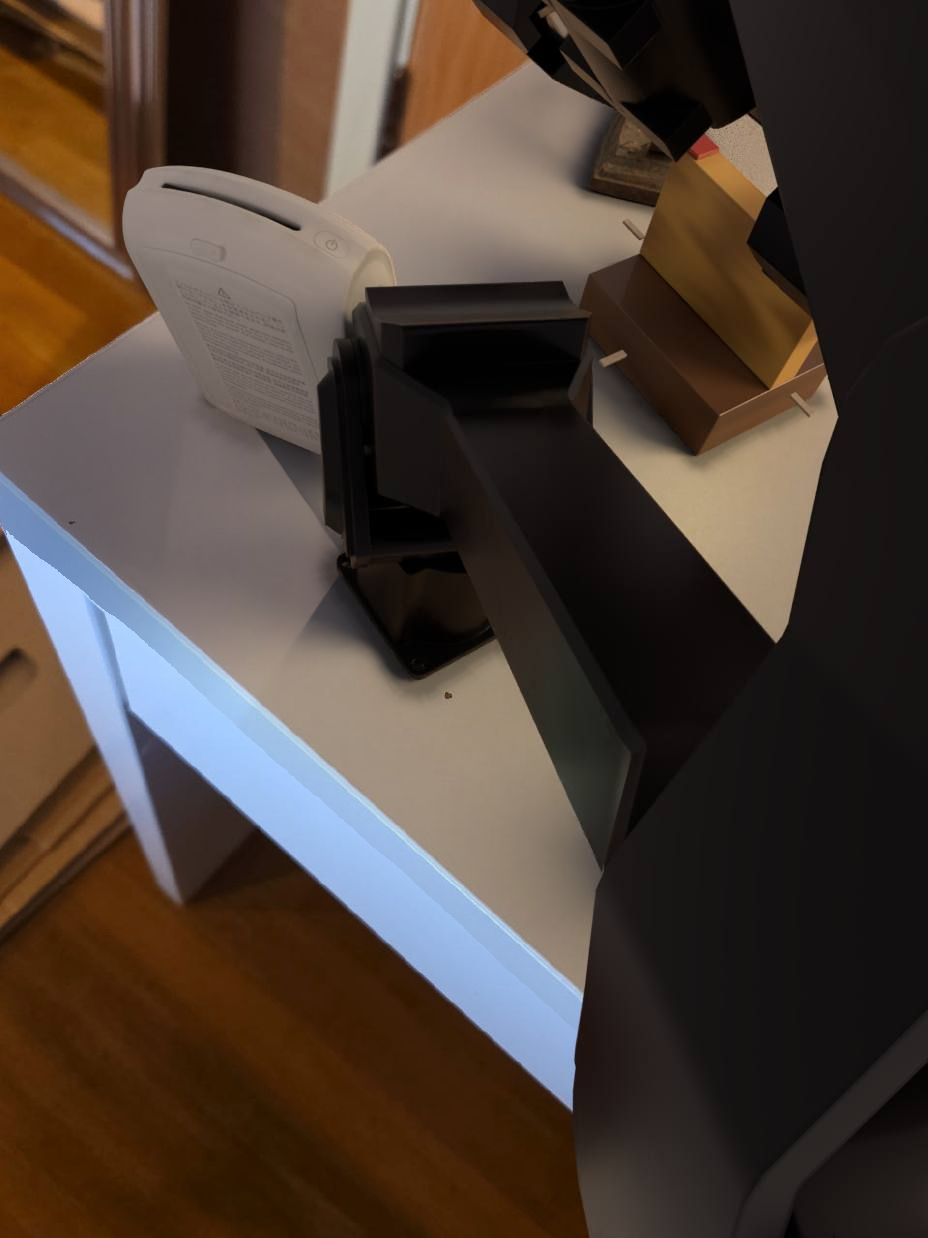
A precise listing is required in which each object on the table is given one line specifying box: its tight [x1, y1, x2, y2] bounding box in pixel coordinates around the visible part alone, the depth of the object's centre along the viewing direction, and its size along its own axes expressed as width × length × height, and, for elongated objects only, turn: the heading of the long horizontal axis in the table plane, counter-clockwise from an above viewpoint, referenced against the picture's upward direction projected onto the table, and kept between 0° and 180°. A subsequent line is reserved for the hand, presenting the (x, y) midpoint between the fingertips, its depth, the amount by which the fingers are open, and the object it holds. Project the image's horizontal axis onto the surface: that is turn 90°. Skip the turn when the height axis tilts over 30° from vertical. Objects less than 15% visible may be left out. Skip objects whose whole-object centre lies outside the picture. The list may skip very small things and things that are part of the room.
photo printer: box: [121, 165, 398, 456], centre depth 38 cm, size 10×4×12 cm, turn 62°
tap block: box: [577, 218, 827, 457], centre depth 49 cm, size 14×14×3 cm
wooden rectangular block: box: [638, 134, 818, 390], centre depth 45 cm, size 10×2×6 cm, turn 34°
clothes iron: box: [589, 111, 706, 207], centre depth 55 cm, size 7×11×10 cm, turn 171°
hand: (775, 200), depth 35 cm, fingers open, 9 cm apart
